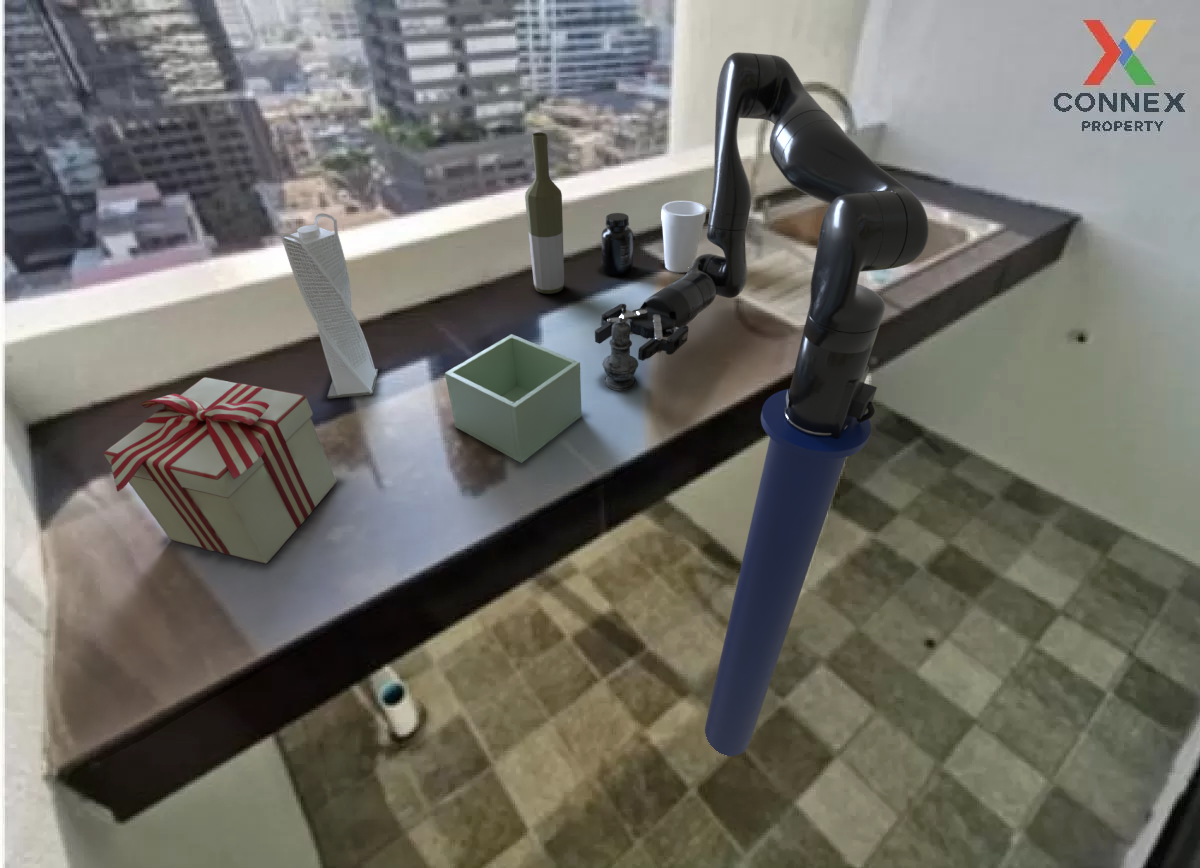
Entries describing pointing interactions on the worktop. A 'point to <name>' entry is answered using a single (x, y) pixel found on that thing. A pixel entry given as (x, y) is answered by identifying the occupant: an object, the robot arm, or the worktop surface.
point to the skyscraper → (331, 307)
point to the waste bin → (515, 396)
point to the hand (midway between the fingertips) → (618, 346)
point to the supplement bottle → (617, 245)
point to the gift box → (226, 467)
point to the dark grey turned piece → (620, 359)
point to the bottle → (545, 223)
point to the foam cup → (681, 233)
